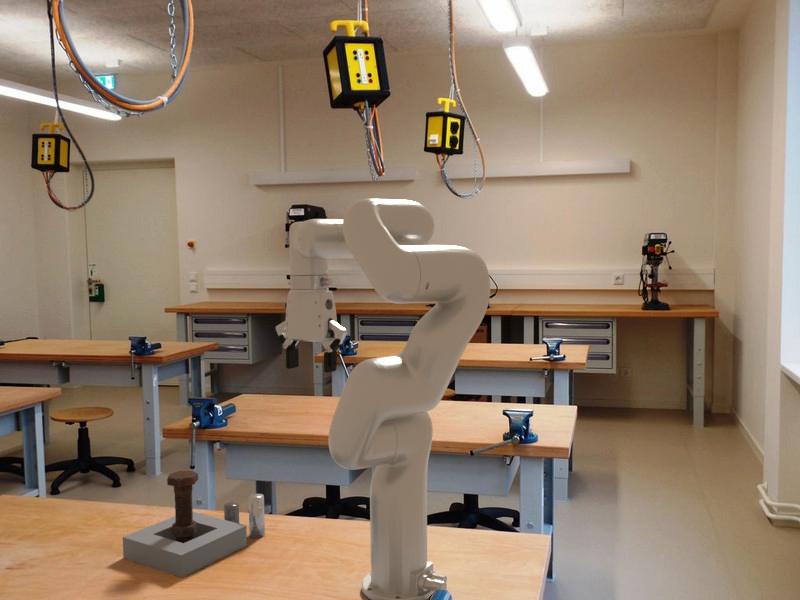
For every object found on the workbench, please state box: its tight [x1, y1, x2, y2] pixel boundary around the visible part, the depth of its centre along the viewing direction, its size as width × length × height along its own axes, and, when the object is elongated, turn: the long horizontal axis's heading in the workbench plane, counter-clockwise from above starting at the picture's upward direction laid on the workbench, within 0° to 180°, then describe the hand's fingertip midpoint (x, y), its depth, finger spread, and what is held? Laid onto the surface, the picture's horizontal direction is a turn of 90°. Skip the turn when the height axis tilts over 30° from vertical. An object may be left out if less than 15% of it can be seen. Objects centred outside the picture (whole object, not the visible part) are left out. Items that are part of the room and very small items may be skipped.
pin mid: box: [248, 493, 266, 539], centre depth 146 cm, size 3×3×8 cm
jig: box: [122, 511, 248, 578], centre depth 138 cm, size 16×16×4 cm
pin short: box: [223, 501, 240, 524], centre depth 150 cm, size 3×3×5 cm
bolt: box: [166, 470, 199, 543], centre depth 138 cm, size 6×5×15 cm
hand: (311, 369), depth 145 cm, fingers open, 9 cm apart
